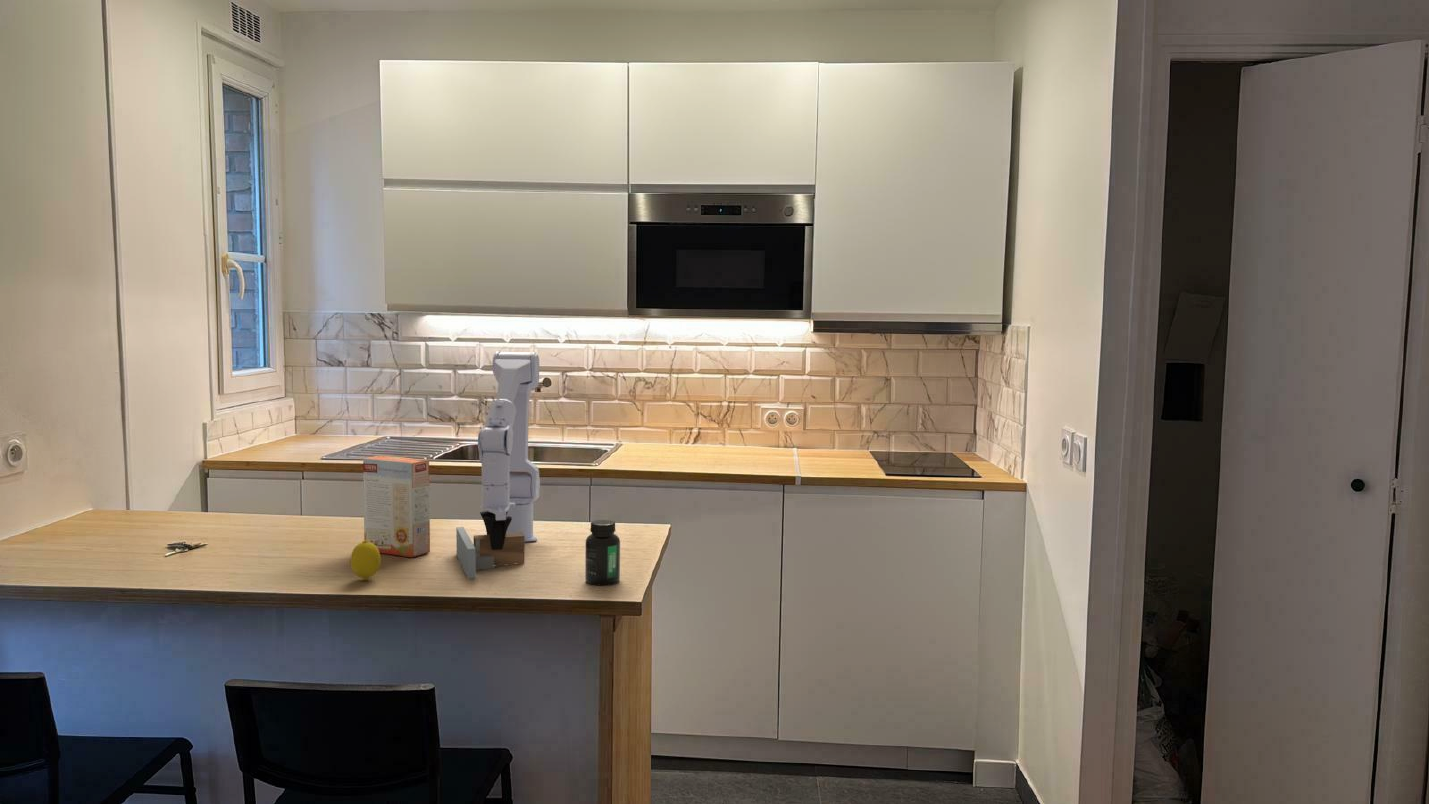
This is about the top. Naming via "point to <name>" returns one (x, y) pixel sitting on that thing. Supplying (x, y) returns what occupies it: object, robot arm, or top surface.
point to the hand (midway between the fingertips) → (495, 547)
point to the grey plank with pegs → (470, 555)
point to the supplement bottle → (602, 554)
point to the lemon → (365, 560)
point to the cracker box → (397, 505)
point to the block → (508, 554)
